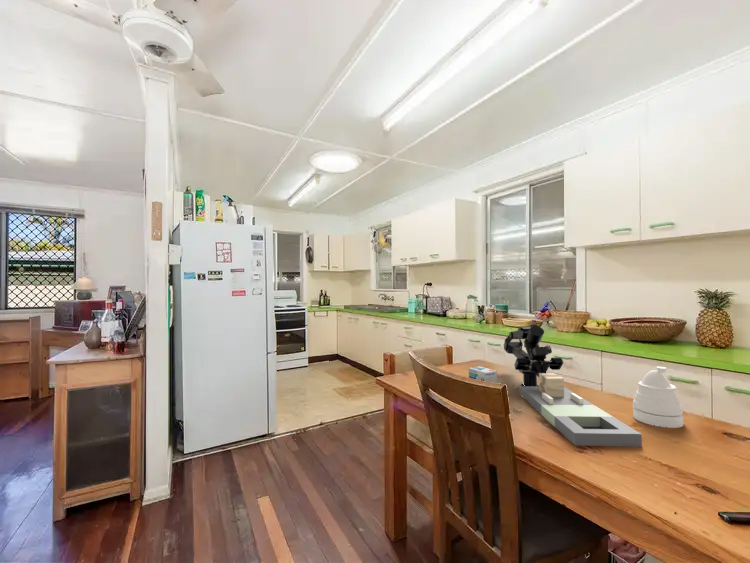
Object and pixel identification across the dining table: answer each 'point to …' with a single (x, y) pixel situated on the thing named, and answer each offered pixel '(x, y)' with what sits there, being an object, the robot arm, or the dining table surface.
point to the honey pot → (657, 401)
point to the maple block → (551, 384)
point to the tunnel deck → (581, 419)
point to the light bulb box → (483, 374)
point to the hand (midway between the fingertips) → (544, 381)
